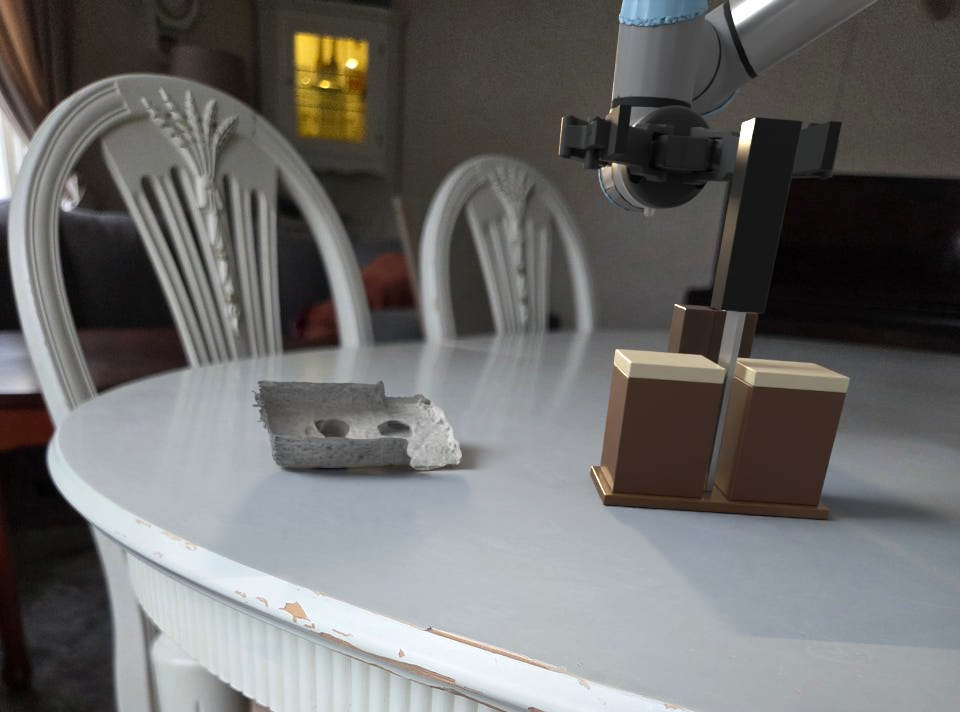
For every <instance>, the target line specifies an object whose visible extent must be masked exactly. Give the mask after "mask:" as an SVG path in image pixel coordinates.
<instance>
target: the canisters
mask: <svg viewBox="0 0 960 712" xmlns="http://www.w3.org/2000/svg"><path fill="white" fill-rule="evenodd" d="M725 371H726V369H724V368H722V367H721V366H719V365H717V364H716V363H714V362H712V361H710V360H709V359H707V358H705V357H703V356H702V355H692V354H678V353H667V352H662V351H650V350H635V349H633V350H632V349H623V348H621V349H620V348H616V349H615V350H614V359H613V365H612V375H611V381H610V387H609V395H608V396H609V397H608V404H607V412H606V419H605V427H604V435H603V443H602V449H601V450H602V451H601V458H600V464H599V465H591V466H590V471H589V475H590V478H592V481H593V484H594V486H595V488H596V490H597V494H598V495H599V498H600V500H601V502H602V504H603V505H604V506H620V507H635V508H649V509H662V510H663V509H665V510H677V511H679V510H680V511H693V512H694V511H695V512H709V513H710V512H711V513H722V514H723V513H724V514H739V515H753V516H770V517H782V518H783V517H784V518H798V519H800V518H801V519H813V520H814V519H815V520H828V519H829V514H830V509H829V508H828V507H827V506H825V504H823V503H822V502H821V496H822V492H823V488H824V485H825V481H826V476H827V472H828V469H829V464H830V460H831V457H832V453H833V448H834V444H835V440H836V437H837V432H838V429H839V425H840V421H841V416H842V412H843V408H844V404H845V400H846V396H847V392H848V388H849V385H850V381H851V377H849V376H846V375H844V374H841V373H838V372H836V371H833V370H831V369H829V368H826V367H824V366H821V365H819V364H817V363H814V362H803V361H802V362H801V361H788V360H786V361H785V360H773V359H760V358H750V359H748V358H737V363H736V368H735V374H734V379H733V384H732V389H731V394H730V400H729V405H728V410H727V415H726V421H725V426H724V431H723V436H722V441H721V447H720V452H719V457H718V462H717V468H716V473H715V478H714V483H713V488H712V492H706V491H705V490H704V484H705V479H706V473H707V468H708V463H709V457H710V452H711V447H712V441H713V436H714V430H715V425H716V420H717V414H718V409H719V404H720V398H721V393H722V388H723V382H724V377H725Z"/></svg>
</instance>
